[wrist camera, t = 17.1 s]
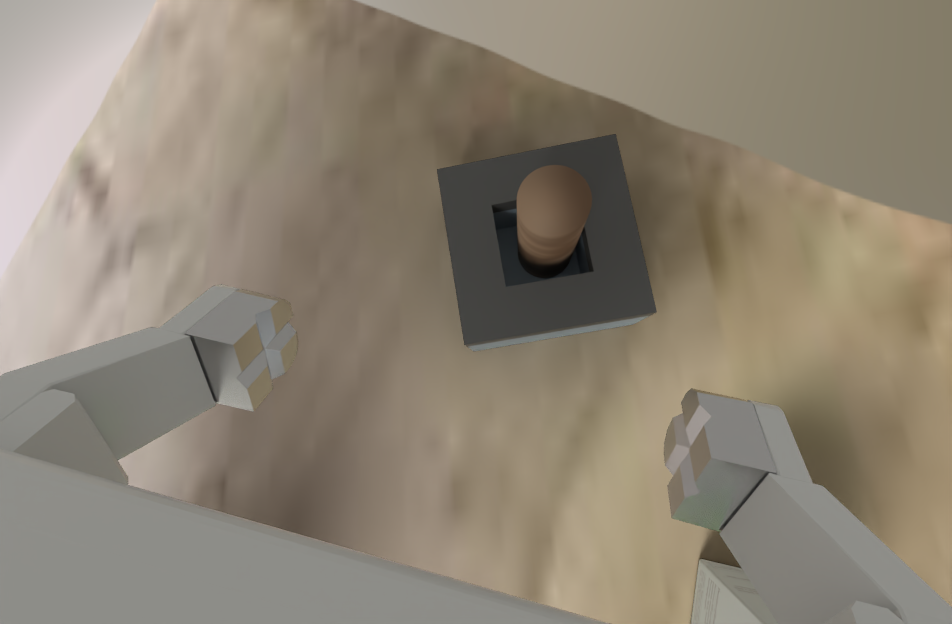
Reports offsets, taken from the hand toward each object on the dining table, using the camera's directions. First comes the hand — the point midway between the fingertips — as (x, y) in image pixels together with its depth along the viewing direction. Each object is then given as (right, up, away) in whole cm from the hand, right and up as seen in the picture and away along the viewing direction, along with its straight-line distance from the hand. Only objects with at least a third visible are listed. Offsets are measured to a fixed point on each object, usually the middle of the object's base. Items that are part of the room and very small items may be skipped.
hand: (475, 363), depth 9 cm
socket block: (+5, +5, +26) cm, 27 cm away
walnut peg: (+5, +6, +25) cm, 26 cm away
